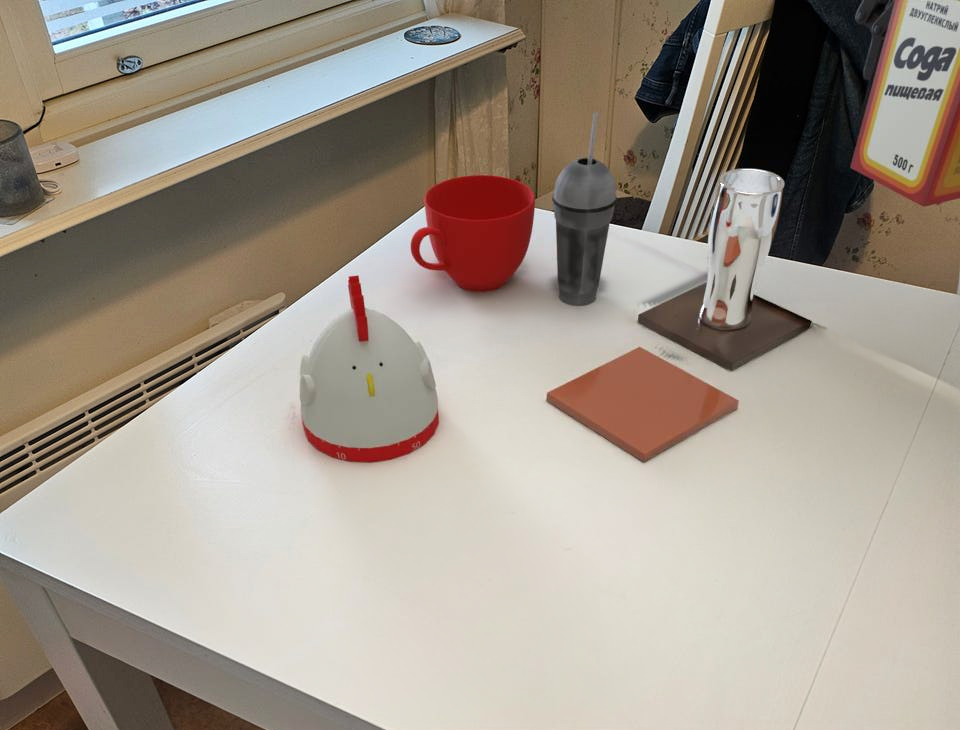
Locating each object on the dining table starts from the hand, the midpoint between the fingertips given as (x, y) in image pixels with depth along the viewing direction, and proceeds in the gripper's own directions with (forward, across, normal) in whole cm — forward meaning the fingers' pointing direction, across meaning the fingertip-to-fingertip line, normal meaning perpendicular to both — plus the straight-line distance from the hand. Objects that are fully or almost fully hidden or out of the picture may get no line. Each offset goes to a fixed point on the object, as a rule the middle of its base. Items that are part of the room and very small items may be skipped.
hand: (927, 140), depth 77 cm
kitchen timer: (+24, -28, -42) cm, 56 cm away
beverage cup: (+24, -33, -8) cm, 42 cm away
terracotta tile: (+24, -12, -19) cm, 33 cm away
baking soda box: (+3, 0, 0) cm, 3 cm away
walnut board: (+24, -17, 0) cm, 30 cm away
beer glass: (+23, -17, 0) cm, 29 cm away
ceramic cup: (+24, -44, -16) cm, 53 cm away
